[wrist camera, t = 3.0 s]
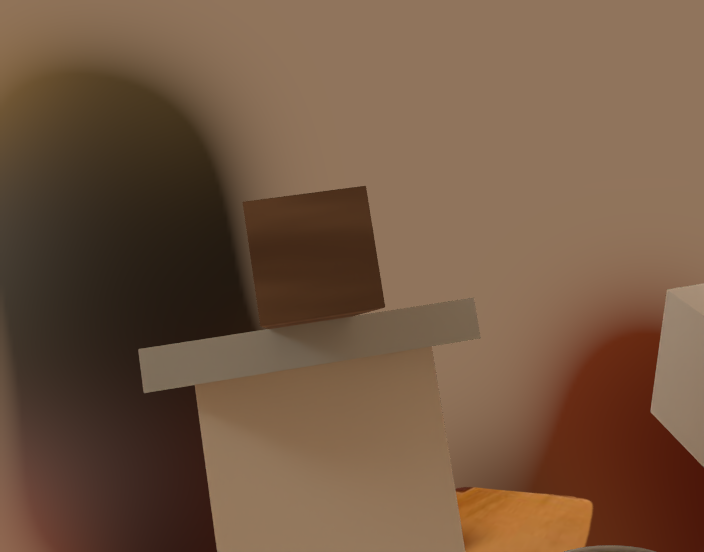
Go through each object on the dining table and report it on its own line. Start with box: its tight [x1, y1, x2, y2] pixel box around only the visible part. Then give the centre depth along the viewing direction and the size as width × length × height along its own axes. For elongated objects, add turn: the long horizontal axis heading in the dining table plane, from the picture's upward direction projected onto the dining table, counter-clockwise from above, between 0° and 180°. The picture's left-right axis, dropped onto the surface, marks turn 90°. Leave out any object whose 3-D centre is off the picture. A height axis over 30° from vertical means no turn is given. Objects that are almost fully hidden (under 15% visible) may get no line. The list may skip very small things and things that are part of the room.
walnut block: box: [243, 186, 385, 329], centre depth 34 cm, size 28×4×4 cm, turn 6°
